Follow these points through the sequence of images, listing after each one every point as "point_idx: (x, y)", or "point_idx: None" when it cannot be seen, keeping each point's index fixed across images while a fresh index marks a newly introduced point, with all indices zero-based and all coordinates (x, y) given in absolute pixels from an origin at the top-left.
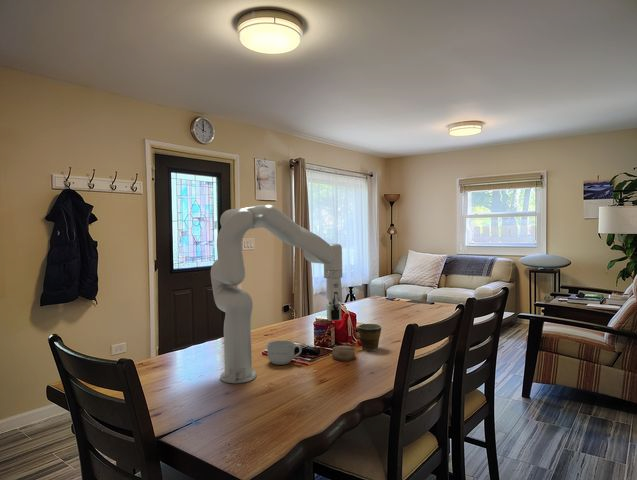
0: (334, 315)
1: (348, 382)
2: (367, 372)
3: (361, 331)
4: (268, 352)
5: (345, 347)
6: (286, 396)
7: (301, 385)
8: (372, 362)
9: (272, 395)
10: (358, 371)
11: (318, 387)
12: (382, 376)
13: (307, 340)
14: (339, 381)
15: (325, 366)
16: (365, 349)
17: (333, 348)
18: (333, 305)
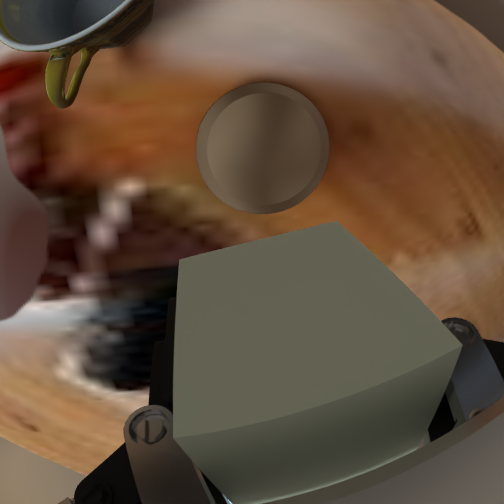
0: None
1: (490, 155)
2: (438, 73)
3: (124, 18)
4: None
5: (245, 136)
6: (500, 292)
7: (475, 276)
8: (334, 17)
9: (488, 317)
10: (429, 102)
11: (494, 235)
12: (463, 40)
13: (22, 327)
14: (482, 180)
15: (371, 225)
16: (142, 27)
17: (257, 207)
18: (412, 436)
